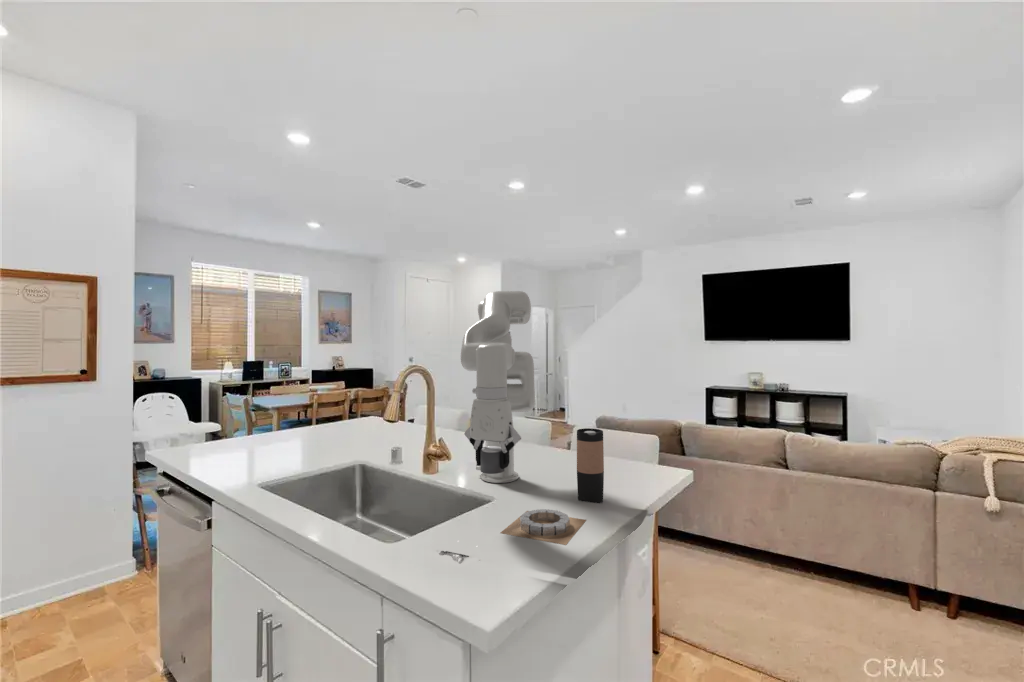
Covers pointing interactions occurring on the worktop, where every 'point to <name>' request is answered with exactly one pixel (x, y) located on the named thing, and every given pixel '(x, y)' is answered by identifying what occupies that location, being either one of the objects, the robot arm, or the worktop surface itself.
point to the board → (559, 539)
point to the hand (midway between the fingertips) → (492, 465)
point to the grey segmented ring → (544, 529)
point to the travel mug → (590, 465)
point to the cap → (490, 460)
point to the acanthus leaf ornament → (454, 555)
